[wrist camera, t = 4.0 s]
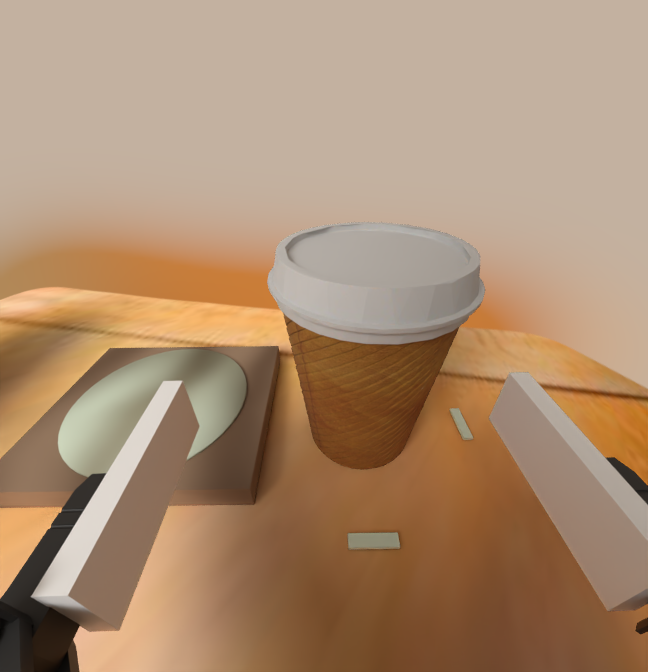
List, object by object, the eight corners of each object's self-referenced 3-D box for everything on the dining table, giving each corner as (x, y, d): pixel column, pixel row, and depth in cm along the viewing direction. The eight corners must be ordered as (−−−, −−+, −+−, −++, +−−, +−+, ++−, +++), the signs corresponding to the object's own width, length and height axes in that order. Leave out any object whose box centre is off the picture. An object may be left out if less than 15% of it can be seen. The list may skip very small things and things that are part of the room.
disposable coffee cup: (396, 369, 24) (422, 215, 18) (464, 478, 17) (558, 278, 10) (280, 387, 23) (260, 225, 16) (296, 516, 15) (271, 310, 8)
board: (280, 360, 25) (278, 344, 25) (254, 504, 16) (249, 486, 15) (117, 362, 25) (108, 346, 24) (-14, 508, 16) (-36, 490, 15)
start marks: (431, 357, 26) (432, 355, 25) (525, 547, 14) (527, 545, 14) (267, 359, 26) (267, 357, 25) (221, 551, 14) (221, 549, 14)
